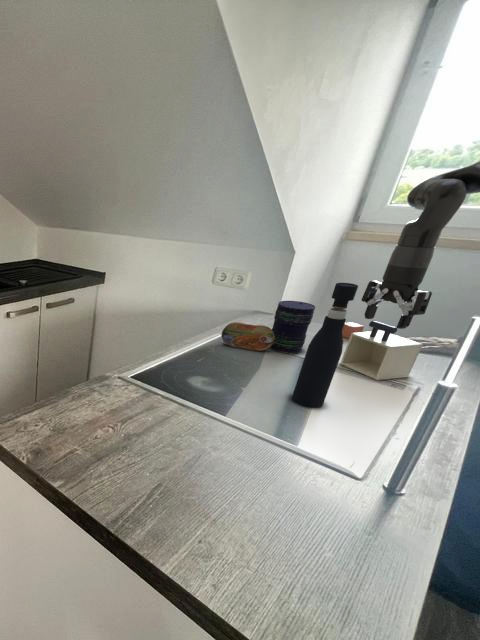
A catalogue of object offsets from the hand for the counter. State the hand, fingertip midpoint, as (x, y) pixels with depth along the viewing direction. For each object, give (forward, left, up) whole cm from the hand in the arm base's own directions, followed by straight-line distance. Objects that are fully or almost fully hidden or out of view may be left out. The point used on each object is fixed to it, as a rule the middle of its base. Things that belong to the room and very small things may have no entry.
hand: (384, 323), depth 107 cm
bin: (-8, 0, -7) cm, 11 cm away
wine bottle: (+30, +12, -15) cm, 36 cm away
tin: (+20, -23, -15) cm, 34 cm away
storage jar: (+8, -20, -15) cm, 26 cm away
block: (-22, -25, -15) cm, 36 cm away
